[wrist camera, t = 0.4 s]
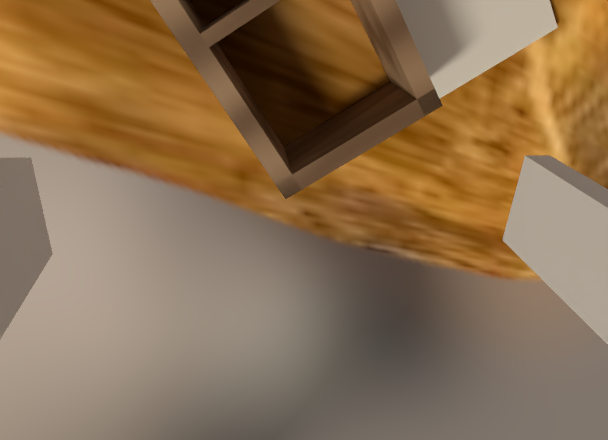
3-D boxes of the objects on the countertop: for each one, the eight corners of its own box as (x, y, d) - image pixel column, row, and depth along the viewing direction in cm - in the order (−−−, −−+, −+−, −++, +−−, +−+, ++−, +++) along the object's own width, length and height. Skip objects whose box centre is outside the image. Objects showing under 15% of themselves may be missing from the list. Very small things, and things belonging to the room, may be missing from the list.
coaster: (372, -29, 38) (374, -29, 38) (510, -118, 37) (514, -120, 36) (431, 100, 44) (433, 102, 43) (553, 27, 42) (557, 27, 42)
